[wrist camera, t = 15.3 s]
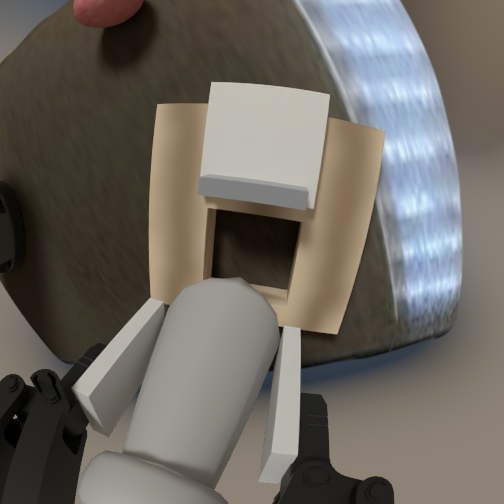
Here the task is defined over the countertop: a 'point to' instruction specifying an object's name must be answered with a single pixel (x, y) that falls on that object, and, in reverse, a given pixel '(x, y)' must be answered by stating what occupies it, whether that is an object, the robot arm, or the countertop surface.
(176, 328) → the salt shaker
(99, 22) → the apple
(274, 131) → the shutter
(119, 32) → the countertop surface
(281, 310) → the socket board
